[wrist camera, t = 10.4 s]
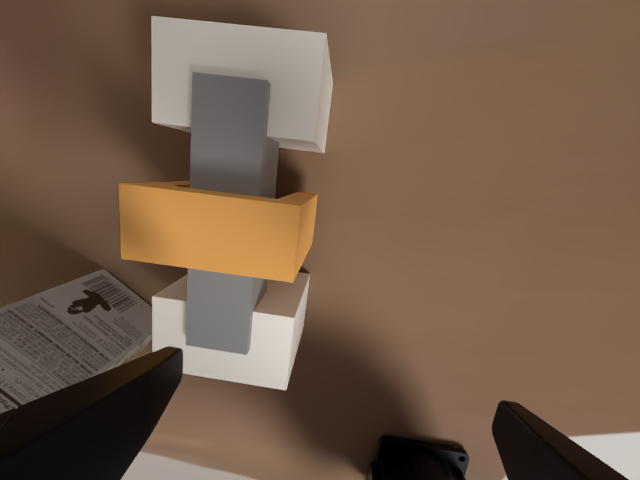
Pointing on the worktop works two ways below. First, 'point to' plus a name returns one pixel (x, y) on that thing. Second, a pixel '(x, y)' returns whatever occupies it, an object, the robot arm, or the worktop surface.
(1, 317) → the coffee box
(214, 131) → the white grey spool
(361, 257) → the worktop surface
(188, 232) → the orange u-channel
